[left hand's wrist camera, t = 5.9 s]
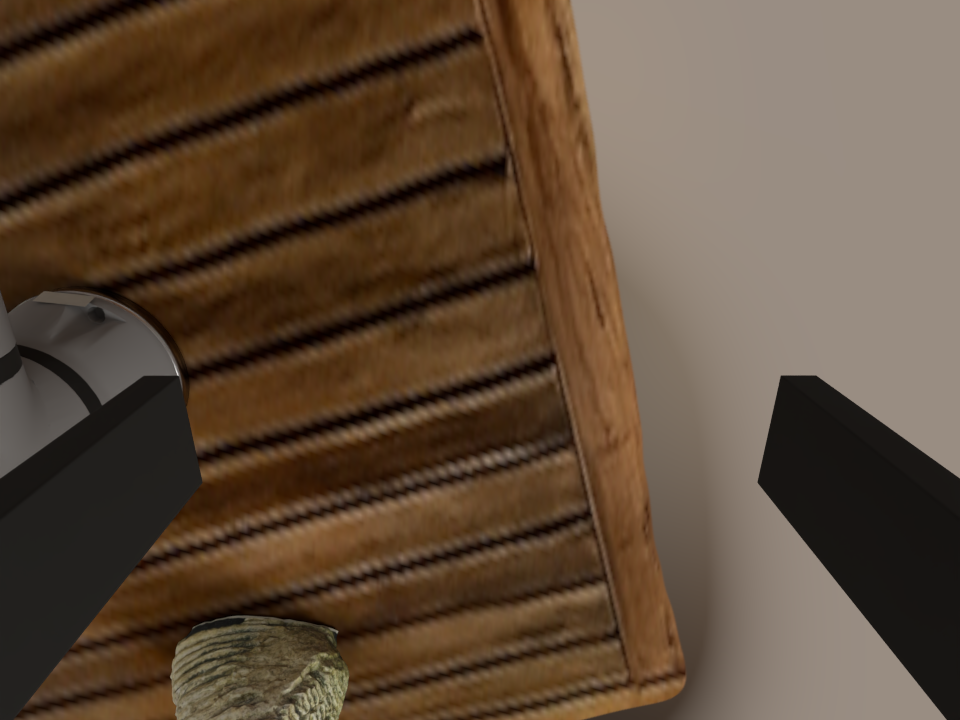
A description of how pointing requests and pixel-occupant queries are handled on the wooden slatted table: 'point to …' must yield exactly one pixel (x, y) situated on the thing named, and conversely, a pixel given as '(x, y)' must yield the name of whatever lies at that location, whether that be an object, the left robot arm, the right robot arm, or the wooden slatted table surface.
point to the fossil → (258, 671)
